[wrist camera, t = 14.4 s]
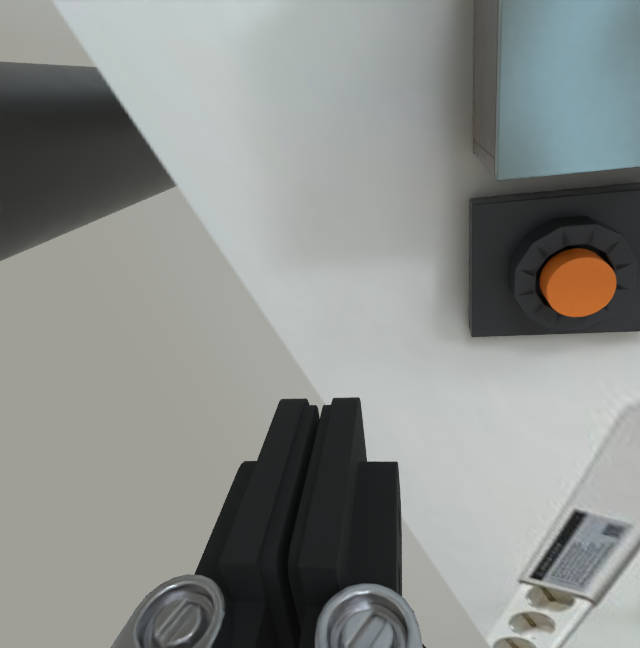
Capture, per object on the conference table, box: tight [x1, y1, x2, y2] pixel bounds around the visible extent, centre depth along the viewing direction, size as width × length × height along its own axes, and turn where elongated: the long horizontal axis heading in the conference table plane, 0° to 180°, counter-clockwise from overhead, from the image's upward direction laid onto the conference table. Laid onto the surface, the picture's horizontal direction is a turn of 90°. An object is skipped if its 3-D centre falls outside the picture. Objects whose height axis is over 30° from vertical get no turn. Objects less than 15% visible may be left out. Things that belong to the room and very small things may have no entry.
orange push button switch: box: [469, 183, 640, 337], centre depth 30 cm, size 11×9×4 cm
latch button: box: [540, 248, 617, 317], centre depth 28 cm, size 4×4×2 cm
